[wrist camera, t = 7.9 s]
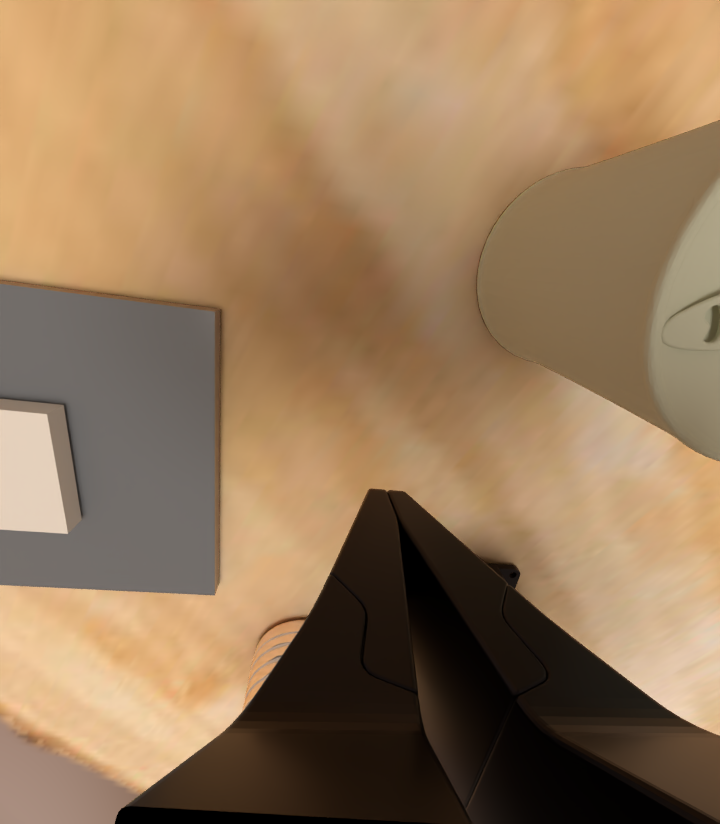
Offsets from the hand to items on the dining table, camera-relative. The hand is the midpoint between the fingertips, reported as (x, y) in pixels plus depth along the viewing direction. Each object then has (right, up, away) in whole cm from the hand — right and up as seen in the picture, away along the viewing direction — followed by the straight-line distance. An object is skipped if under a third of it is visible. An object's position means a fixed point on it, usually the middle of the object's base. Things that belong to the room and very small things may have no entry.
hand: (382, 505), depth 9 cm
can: (+10, +9, +11) cm, 17 cm away
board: (-17, 0, +12) cm, 21 cm away
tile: (-16, -1, +11) cm, 19 cm away
